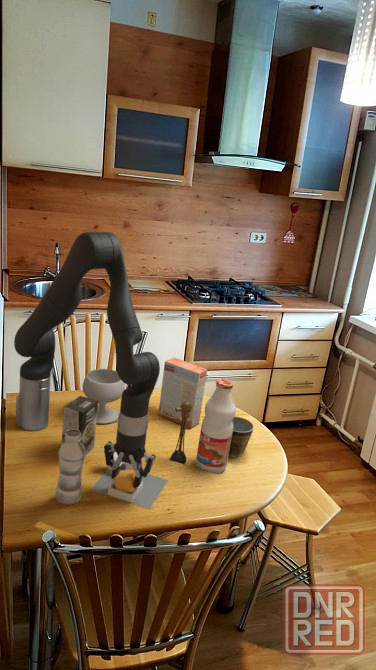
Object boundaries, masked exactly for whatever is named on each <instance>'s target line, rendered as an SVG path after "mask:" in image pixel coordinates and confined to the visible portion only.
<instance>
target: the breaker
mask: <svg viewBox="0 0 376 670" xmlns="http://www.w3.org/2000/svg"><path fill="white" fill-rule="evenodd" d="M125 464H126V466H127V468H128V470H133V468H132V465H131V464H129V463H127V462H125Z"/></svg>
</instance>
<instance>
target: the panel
mask: <svg viewBox="0 0 376 670" xmlns="http://www.w3.org/2000/svg"><path fill="white" fill-rule="evenodd" d="M143 469H145V467H143ZM123 470H128V468H127V466H126V464H125V462H122V465H121V466H120V471H123ZM168 482H169V479H166V478H162V477H159V476H157V475H153V474H150V473H148V475H147V476H146V477H143V476H142V481H141V484H140V486H139V487H137V488H135V489H134V491H133V492H128V493H126V492H123V491H120V490H117V489H116V487H115V484H114V481H113V479H112V467H110V466H107V467H106V471H105V472H104V473H103V474H102V475H101V476H100V477H99V479H98V480H97V481H96V482H95V483H94V484H93V486H92V487H91V488H90V491H93V492H96V493H99V494H102V495H105V496H108V497H111V498H115V499H118V500H119V501H123V502H126V503H130V504H132V505H136V506H138V507H141V508H145V509H148V510H151V508H152V507H153V505H154V503H155V502H156V500H157V499H158V496H160V494H161V492H162V491H163V489H164V487H165V486H166V485H167V483H168Z"/></svg>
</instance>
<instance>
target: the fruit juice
mask: <svg viewBox="0 0 376 670" xmlns="http://www.w3.org/2000/svg"><path fill="white" fill-rule="evenodd" d="M215 387H216V388H215V389H214V391H213V394H212V395H211V397H210V398H209V399H208V400H207V402H206V403H205V404H204V405H205V406H204V417H203V419H202V422H201V426H200V434H199V439H198V444H197V452H196V457H195V464H196V466H197V468H198V469H200V470H202V471H204V472H209V473H212V474H220V473H221V474H222V472H224V471H225V470H226V467H227V465H228V460H229V459H228V458H229V450H230V444H231V438H232V433H233V419H234V417H236V413H237V406H236V405H235V402H234V399H233V395H232V390H233V387H234V382H233V381H232V380H231V379H227V378H219V379H216V382H215Z"/></svg>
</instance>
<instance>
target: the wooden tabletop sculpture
mask: <svg viewBox="0 0 376 670" xmlns="http://www.w3.org/2000/svg"><path fill="white" fill-rule="evenodd" d="M191 410H192V405H191V403H190V402H188V401H186V402H184V403H182V404H181V406H180V408H175V411H176V412H178V411H180V412H181V413H182V414H183V416H182V421H181V424H180V428H179V435H178V439H177V442H176V447H175V449H174V451H173V452H172V453H171V455H170V461H171V462H175V463H179V464H181V465H182V464H183V465H185V464H186V462H187V456H186V453H185V434H186V428H187V427H186V421H187V416H186V414H188V413H189V412H190V411H191Z"/></svg>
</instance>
